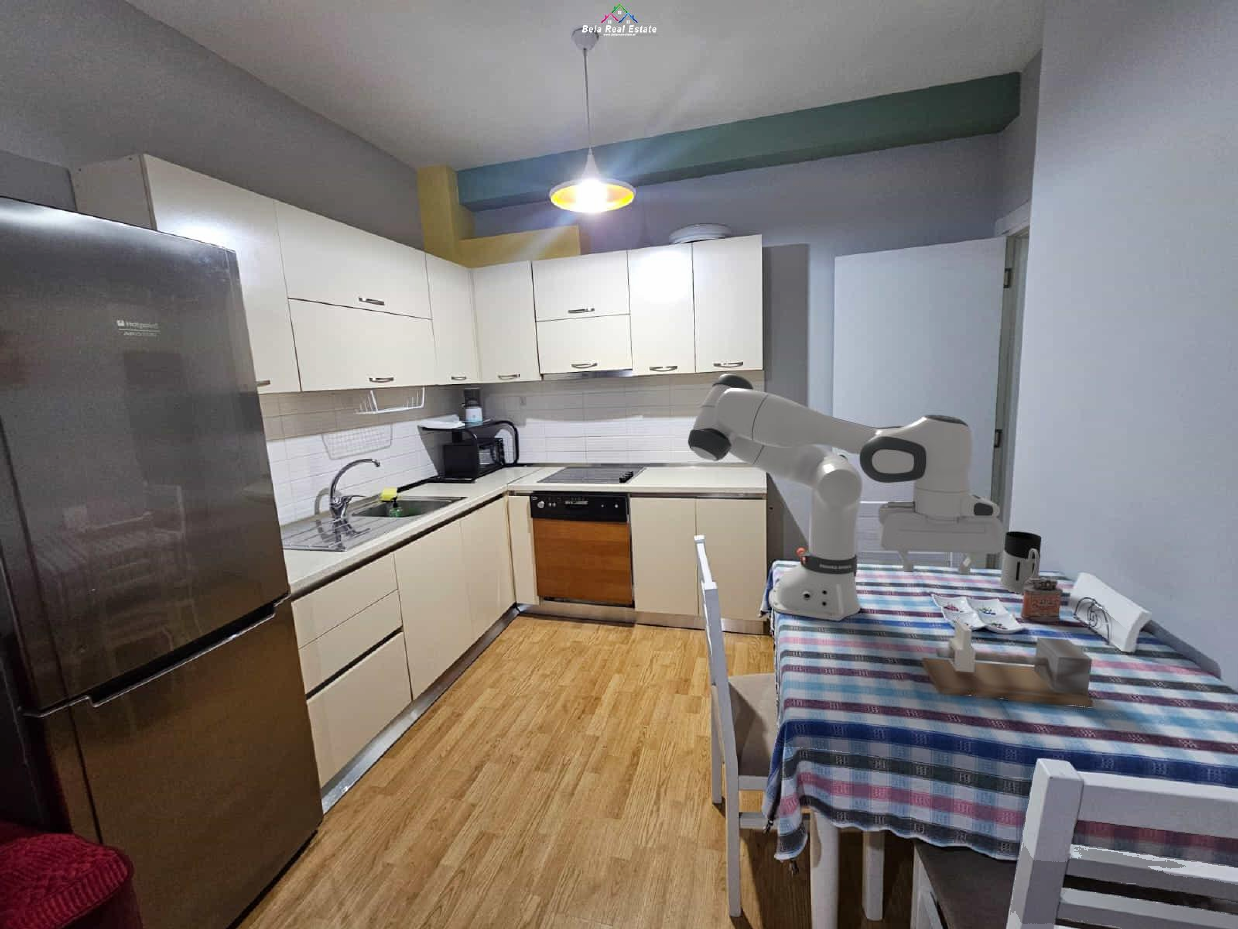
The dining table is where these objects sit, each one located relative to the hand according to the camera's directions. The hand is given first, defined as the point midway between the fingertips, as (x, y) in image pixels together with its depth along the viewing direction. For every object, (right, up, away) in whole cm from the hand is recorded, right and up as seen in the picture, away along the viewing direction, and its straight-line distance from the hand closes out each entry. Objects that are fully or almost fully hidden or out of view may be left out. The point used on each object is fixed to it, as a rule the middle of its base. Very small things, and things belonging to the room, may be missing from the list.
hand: (935, 572), depth 98 cm
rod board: (+13, -22, 0) cm, 25 cm away
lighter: (+40, -16, +25) cm, 50 cm away
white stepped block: (+6, -18, +1) cm, 19 cm away
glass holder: (+47, -14, +38) cm, 62 cm away
